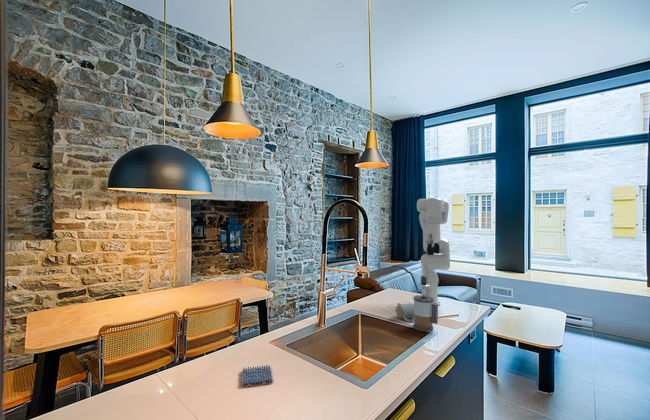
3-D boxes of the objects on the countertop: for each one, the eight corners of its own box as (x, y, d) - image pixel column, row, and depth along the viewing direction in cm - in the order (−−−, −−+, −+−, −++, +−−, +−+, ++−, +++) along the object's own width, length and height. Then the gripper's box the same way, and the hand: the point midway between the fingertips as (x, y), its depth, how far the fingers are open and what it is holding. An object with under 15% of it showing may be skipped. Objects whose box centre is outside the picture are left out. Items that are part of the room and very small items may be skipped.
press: (417, 322, 154) (418, 294, 154) (440, 328, 147) (440, 298, 147) (410, 328, 146) (410, 298, 147) (433, 334, 139) (433, 302, 139)
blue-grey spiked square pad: (241, 390, 94) (241, 383, 94) (241, 372, 104) (241, 367, 104) (274, 385, 97) (274, 379, 97) (271, 369, 107) (271, 363, 107)
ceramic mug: (394, 316, 164) (395, 302, 163) (407, 315, 166) (408, 301, 166) (405, 323, 153) (405, 308, 153) (418, 322, 156) (419, 307, 156)
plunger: (420, 299, 152) (420, 274, 152) (431, 302, 148) (431, 276, 148) (415, 302, 147) (415, 276, 147) (427, 304, 143) (427, 278, 143)
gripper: (431, 221, 163) (431, 252, 163) (420, 221, 150) (420, 254, 149) (445, 221, 159) (445, 253, 158) (435, 221, 145) (435, 256, 144)
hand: (433, 254), depth 154 cm, fingers open, 9 cm apart
